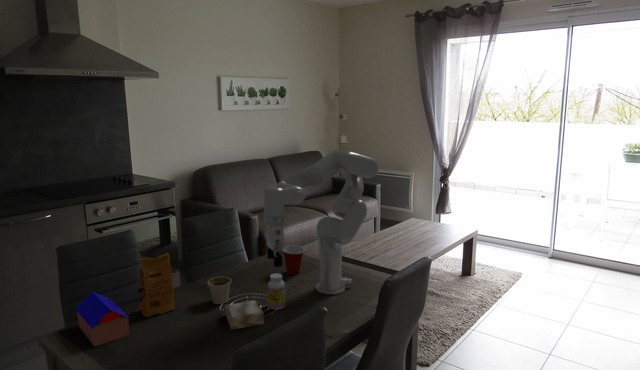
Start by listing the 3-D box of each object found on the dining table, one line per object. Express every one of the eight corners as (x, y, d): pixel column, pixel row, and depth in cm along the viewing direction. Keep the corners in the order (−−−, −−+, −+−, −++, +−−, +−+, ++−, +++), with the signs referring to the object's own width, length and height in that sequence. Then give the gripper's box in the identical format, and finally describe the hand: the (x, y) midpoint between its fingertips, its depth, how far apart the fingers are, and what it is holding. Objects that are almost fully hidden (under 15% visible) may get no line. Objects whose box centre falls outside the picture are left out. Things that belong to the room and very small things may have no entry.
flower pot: (226, 307, 176) (225, 286, 175) (204, 305, 178) (203, 284, 176) (235, 297, 185) (235, 277, 184) (214, 295, 187) (213, 276, 185)
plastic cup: (298, 278, 205) (298, 253, 203) (278, 274, 209) (277, 250, 207) (309, 270, 214) (308, 246, 212) (289, 267, 219) (288, 243, 217)
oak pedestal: (256, 309, 174) (256, 299, 173) (264, 323, 163) (263, 312, 162) (225, 315, 170) (225, 304, 169) (230, 329, 158) (230, 318, 158)
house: (93, 348, 148) (90, 314, 146) (77, 326, 162) (73, 296, 160) (131, 335, 156) (128, 303, 154) (112, 315, 170) (109, 286, 168)
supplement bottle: (265, 308, 175) (264, 277, 172) (273, 301, 181) (272, 271, 178) (280, 311, 172) (279, 279, 170) (288, 304, 178) (287, 273, 176)
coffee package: (138, 309, 175) (133, 255, 171) (170, 301, 182) (166, 249, 178) (143, 319, 167) (138, 262, 163) (177, 311, 173) (173, 256, 169)
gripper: (290, 223, 163) (290, 268, 166) (277, 213, 179) (278, 254, 182) (270, 225, 161) (270, 271, 164) (259, 215, 177) (260, 256, 180)
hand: (274, 262), depth 173 cm, fingers open, 9 cm apart
